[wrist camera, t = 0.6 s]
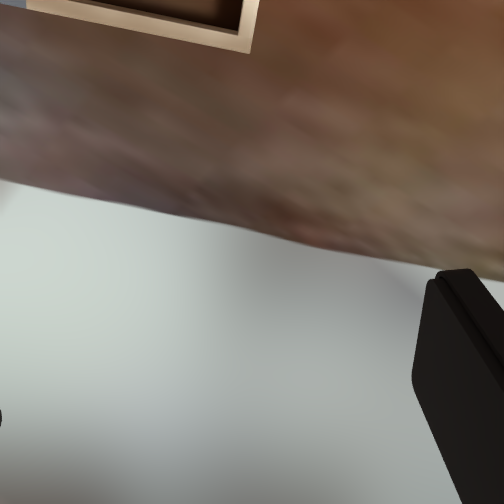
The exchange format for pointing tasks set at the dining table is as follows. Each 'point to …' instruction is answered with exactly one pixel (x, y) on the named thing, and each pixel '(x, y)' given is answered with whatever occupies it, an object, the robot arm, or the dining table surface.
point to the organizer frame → (152, 21)
